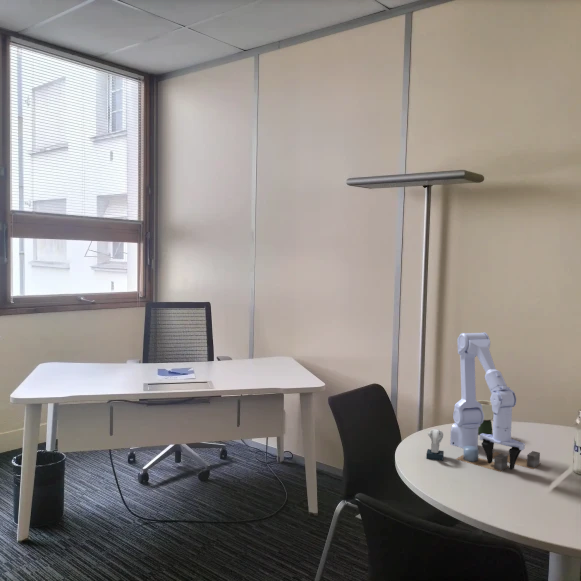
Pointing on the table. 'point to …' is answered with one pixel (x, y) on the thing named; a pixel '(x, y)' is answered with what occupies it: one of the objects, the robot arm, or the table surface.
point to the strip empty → (531, 461)
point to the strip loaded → (497, 465)
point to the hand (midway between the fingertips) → (500, 465)
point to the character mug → (486, 417)
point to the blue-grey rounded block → (471, 454)
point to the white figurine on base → (435, 445)
